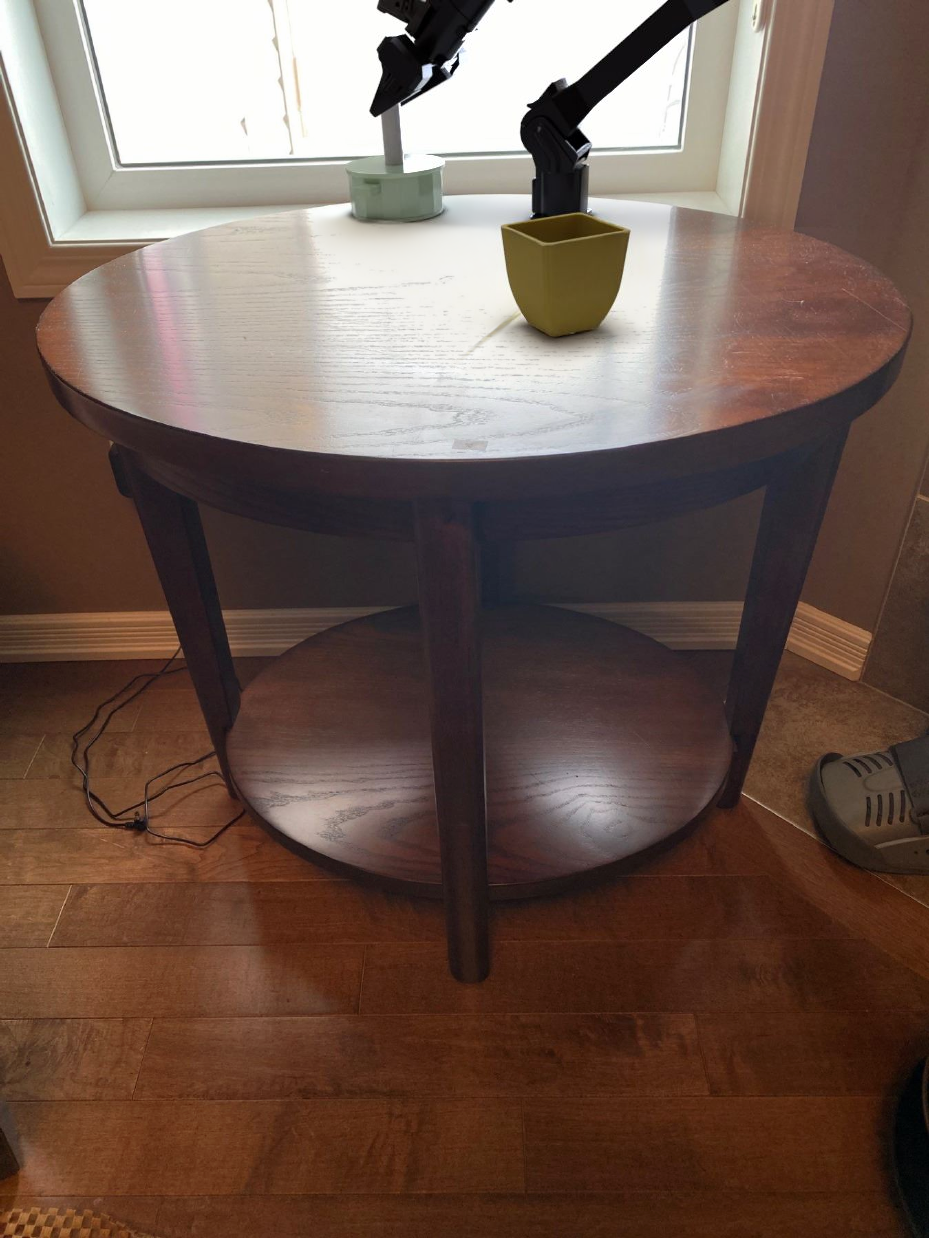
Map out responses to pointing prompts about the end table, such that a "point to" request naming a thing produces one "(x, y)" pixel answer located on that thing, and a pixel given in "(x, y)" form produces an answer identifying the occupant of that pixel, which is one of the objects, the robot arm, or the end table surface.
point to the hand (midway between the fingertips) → (385, 109)
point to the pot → (397, 197)
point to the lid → (394, 155)
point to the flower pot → (565, 270)
